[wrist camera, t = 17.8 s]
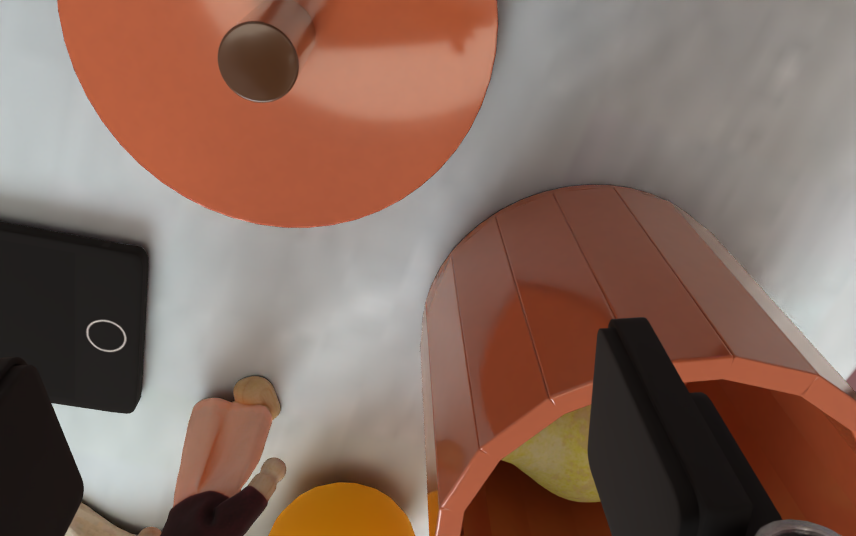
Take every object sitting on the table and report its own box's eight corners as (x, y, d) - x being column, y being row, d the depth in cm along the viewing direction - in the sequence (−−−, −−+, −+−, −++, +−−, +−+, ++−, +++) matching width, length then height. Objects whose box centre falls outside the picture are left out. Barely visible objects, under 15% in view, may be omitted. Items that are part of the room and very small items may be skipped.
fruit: (612, 325, 34) (400, 300, 28) (735, 404, 28) (496, 393, 22) (567, 443, 36) (357, 443, 30) (673, 541, 30) (435, 567, 24)
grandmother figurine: (250, 345, 33) (175, 580, 22) (312, 390, 34) (271, 633, 23) (153, 435, 35) (40, 688, 24) (215, 474, 37) (135, 729, 26)
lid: (191, -354, 21) (119, -437, 15) (580, -26, 26) (628, -3, 20) (3, 78, 27) (-96, 126, 21) (350, 279, 31) (340, 360, 26)
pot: (558, 116, 28) (660, 263, 17) (796, 294, 33) (998, 500, 22) (359, 360, 34) (341, 590, 23) (588, 484, 38) (665, 725, 27)
